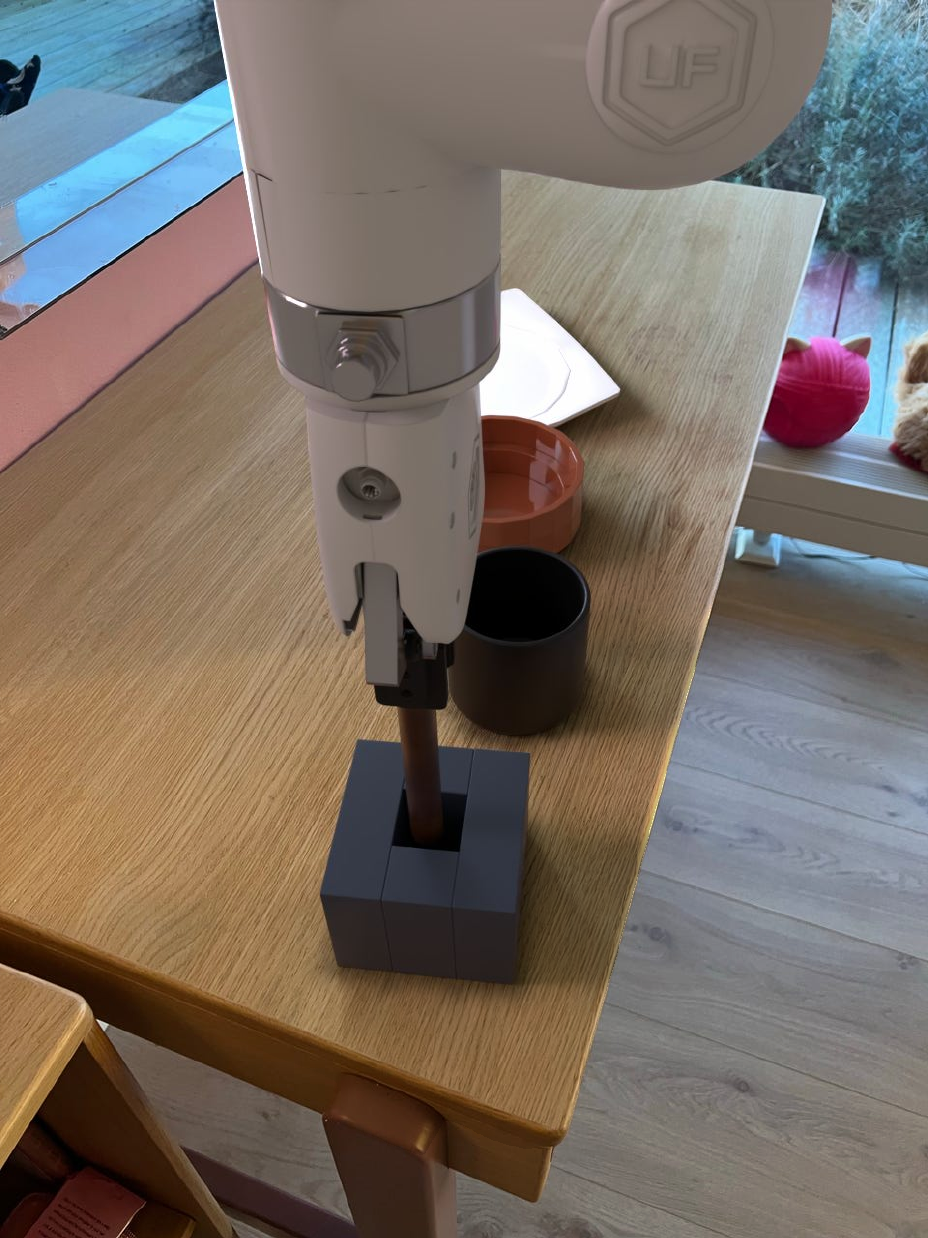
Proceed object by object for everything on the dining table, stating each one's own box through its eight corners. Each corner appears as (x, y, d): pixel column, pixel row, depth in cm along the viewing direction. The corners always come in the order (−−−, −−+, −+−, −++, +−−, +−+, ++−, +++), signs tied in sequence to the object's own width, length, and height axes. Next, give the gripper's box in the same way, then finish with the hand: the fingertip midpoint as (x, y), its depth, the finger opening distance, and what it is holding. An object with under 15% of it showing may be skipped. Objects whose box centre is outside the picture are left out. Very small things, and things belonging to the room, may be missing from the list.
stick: (445, 819, 55) (431, 579, 42) (441, 847, 54) (424, 609, 41) (413, 816, 55) (389, 577, 42) (408, 844, 54) (381, 606, 41)
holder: (527, 830, 62) (530, 752, 57) (514, 985, 55) (515, 913, 50) (369, 816, 63) (356, 738, 58) (336, 966, 56) (318, 894, 51)
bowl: (583, 471, 88) (586, 418, 84) (576, 581, 78) (580, 527, 74) (423, 463, 89) (419, 411, 86) (397, 570, 80) (391, 516, 76)
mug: (597, 623, 75) (606, 530, 68) (571, 749, 67) (578, 657, 60) (474, 604, 77) (472, 512, 70) (434, 724, 68) (427, 633, 62)
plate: (522, 303, 109) (522, 280, 107) (636, 419, 93) (639, 394, 91) (307, 354, 103) (303, 331, 101) (390, 488, 87) (388, 463, 85)
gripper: (472, 460, 27) (479, 838, 40) (520, 210, 38) (513, 570, 51) (201, 445, 28) (295, 821, 41) (325, 204, 39) (368, 561, 52)
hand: (416, 679), depth 46 cm, fingers closed on stick, 1 cm apart
